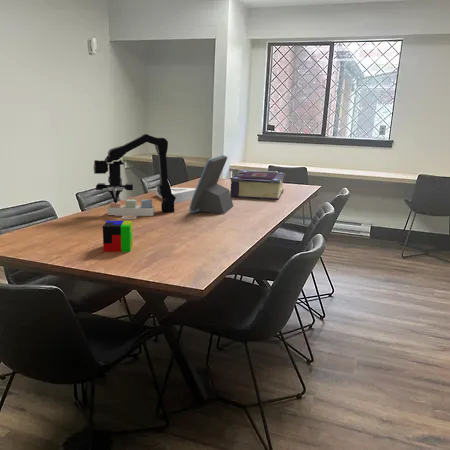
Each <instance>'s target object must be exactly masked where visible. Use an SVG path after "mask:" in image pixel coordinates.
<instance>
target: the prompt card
mask: <svg viewBox="0 0 450 450" xmlns="http://www.w3.org/2000/svg"><path fill="white" fill-rule="evenodd" d="M137 217H138V216H121V220H136V219H137Z"/></svg>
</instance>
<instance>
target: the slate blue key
mask: <svg viewBox="0 0 450 450" xmlns="http://www.w3.org/2000/svg"><path fill="white" fill-rule="evenodd" d="M140 206H141V208H152V206H153V199H142V200H141V201H140Z"/></svg>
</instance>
